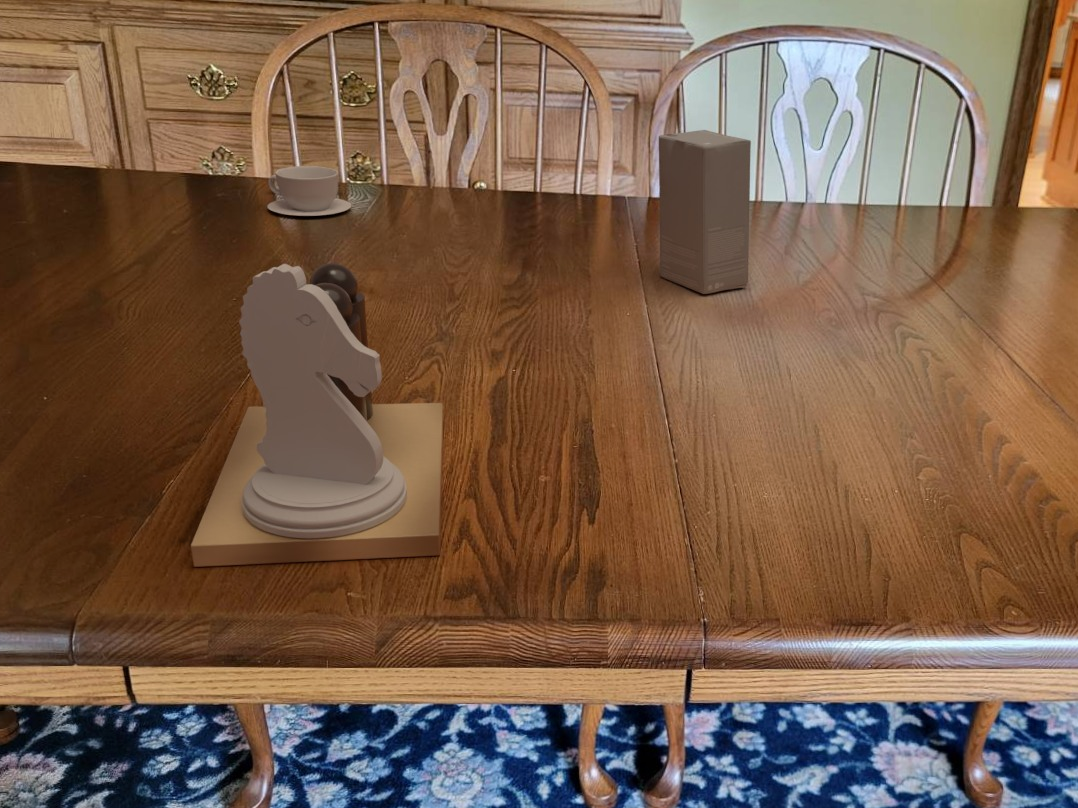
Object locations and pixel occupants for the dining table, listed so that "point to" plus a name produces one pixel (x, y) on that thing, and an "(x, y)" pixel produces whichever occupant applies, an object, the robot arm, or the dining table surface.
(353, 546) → the wooden stand with posts
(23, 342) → the dining table surface
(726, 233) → the cosmetic box
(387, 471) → the chess piece
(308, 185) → the teacup
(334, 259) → the dining table surface
